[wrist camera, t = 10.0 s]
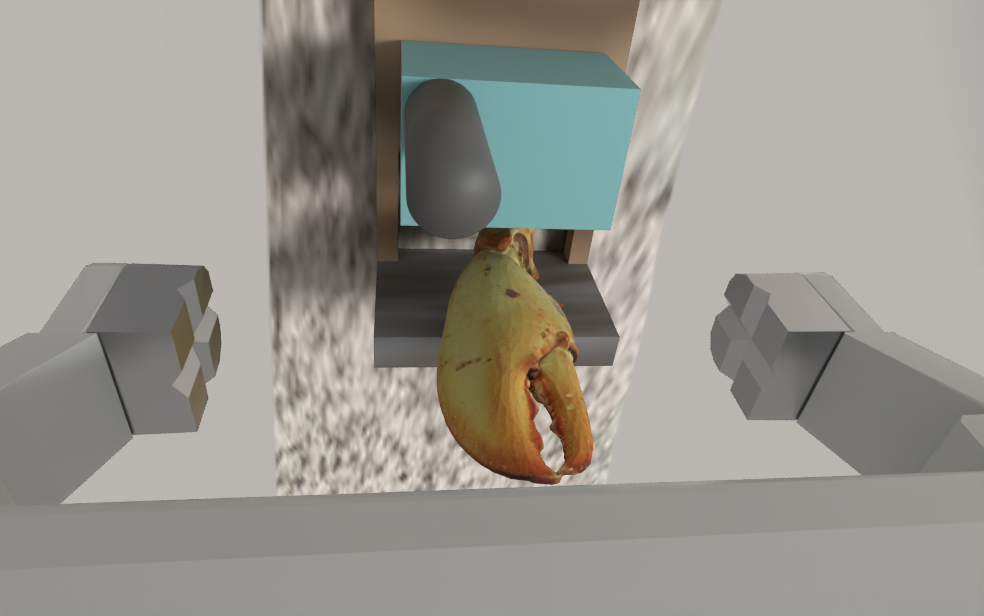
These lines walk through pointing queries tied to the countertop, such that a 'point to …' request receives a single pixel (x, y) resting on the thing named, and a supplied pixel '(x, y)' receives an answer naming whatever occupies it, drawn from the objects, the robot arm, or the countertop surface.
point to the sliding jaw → (511, 138)
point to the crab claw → (510, 364)
